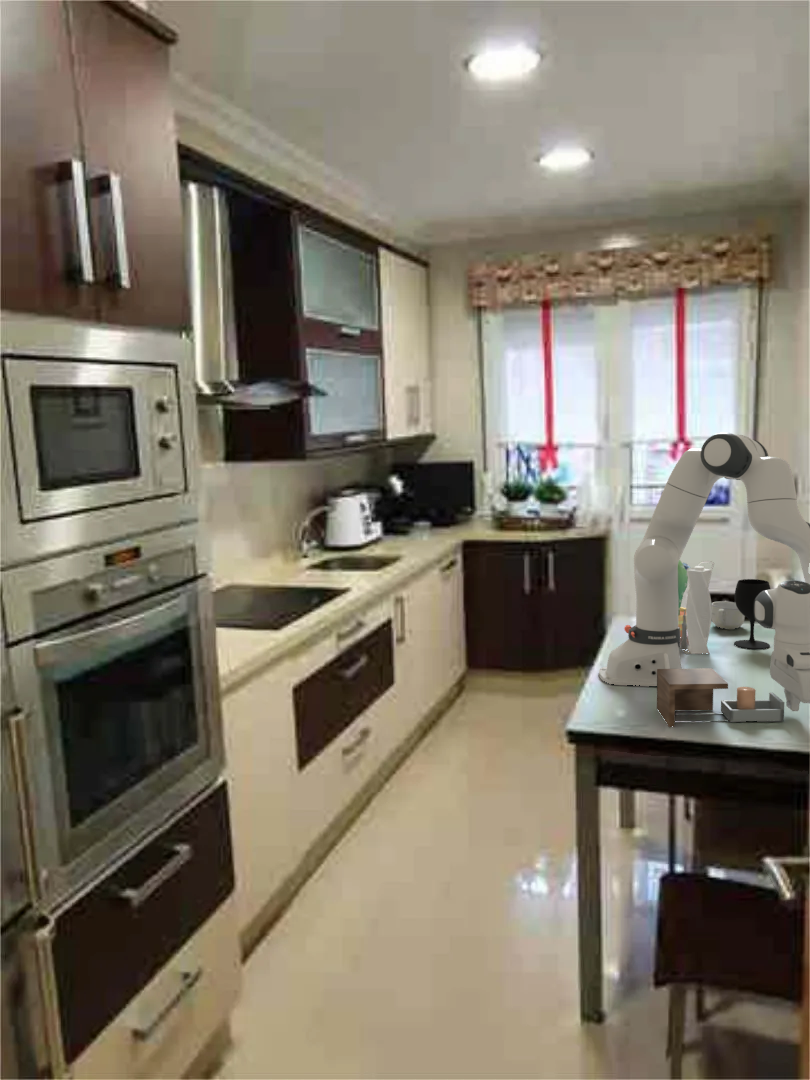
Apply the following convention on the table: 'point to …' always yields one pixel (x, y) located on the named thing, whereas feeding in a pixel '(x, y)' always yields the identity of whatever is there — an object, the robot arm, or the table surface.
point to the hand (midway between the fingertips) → (792, 709)
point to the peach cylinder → (745, 698)
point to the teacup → (726, 615)
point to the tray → (755, 710)
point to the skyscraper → (697, 611)
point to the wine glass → (749, 608)
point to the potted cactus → (682, 590)
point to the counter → (686, 690)
